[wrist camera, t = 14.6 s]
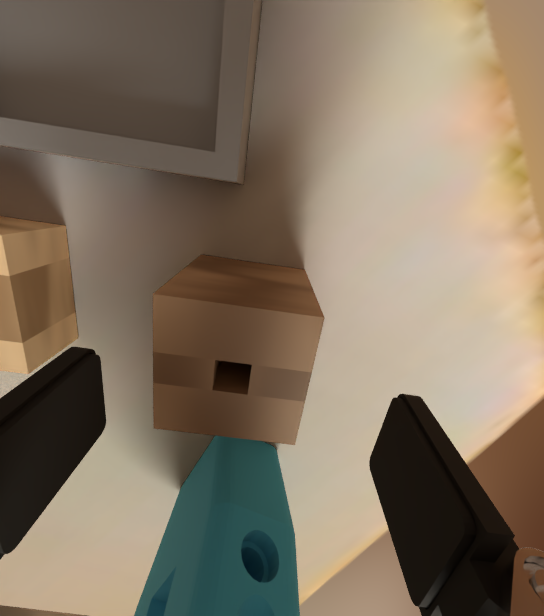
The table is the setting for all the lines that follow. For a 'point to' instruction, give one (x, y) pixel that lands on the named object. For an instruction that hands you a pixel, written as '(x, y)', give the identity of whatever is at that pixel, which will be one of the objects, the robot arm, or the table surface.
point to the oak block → (34, 294)
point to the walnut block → (234, 349)
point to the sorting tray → (131, 82)
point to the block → (227, 539)
